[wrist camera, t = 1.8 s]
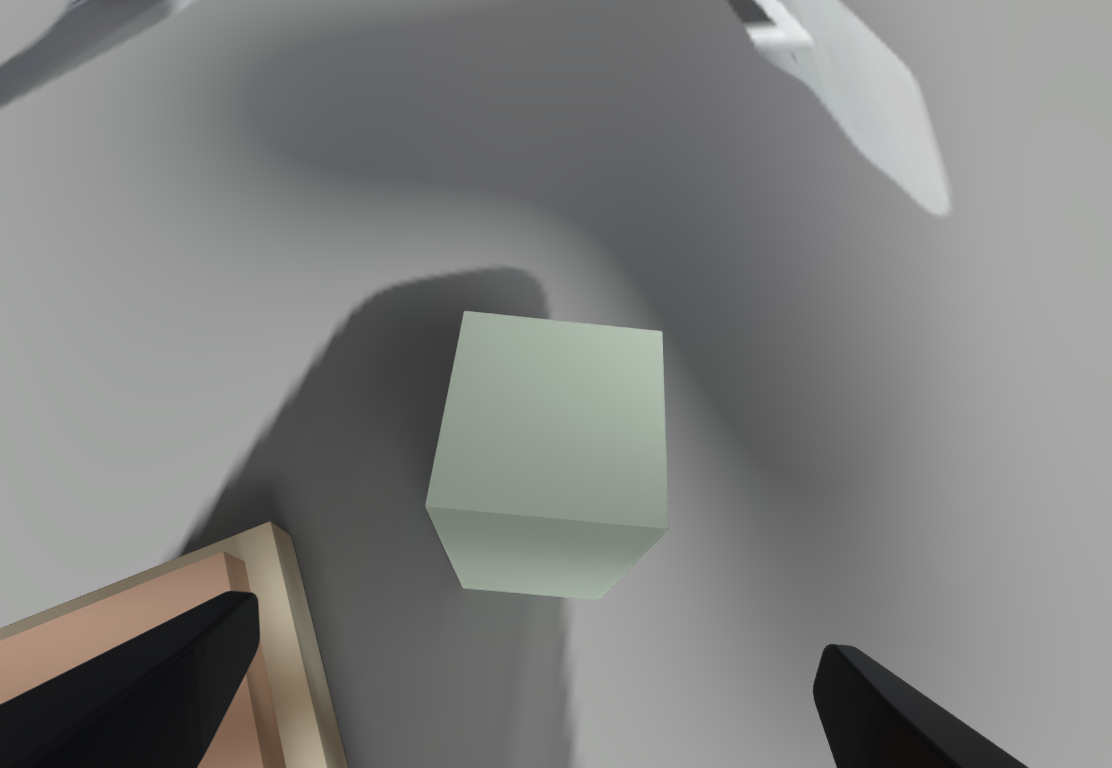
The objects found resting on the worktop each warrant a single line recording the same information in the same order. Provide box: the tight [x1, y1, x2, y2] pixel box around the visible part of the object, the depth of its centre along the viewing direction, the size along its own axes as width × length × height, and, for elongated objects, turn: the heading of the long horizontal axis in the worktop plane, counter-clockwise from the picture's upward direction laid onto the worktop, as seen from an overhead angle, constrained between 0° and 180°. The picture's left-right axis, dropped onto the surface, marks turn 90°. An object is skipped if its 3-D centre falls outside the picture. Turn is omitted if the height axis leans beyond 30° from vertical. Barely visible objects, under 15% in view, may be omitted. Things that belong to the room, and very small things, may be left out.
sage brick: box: [425, 311, 669, 600], centre depth 16 cm, size 5×5×10 cm
